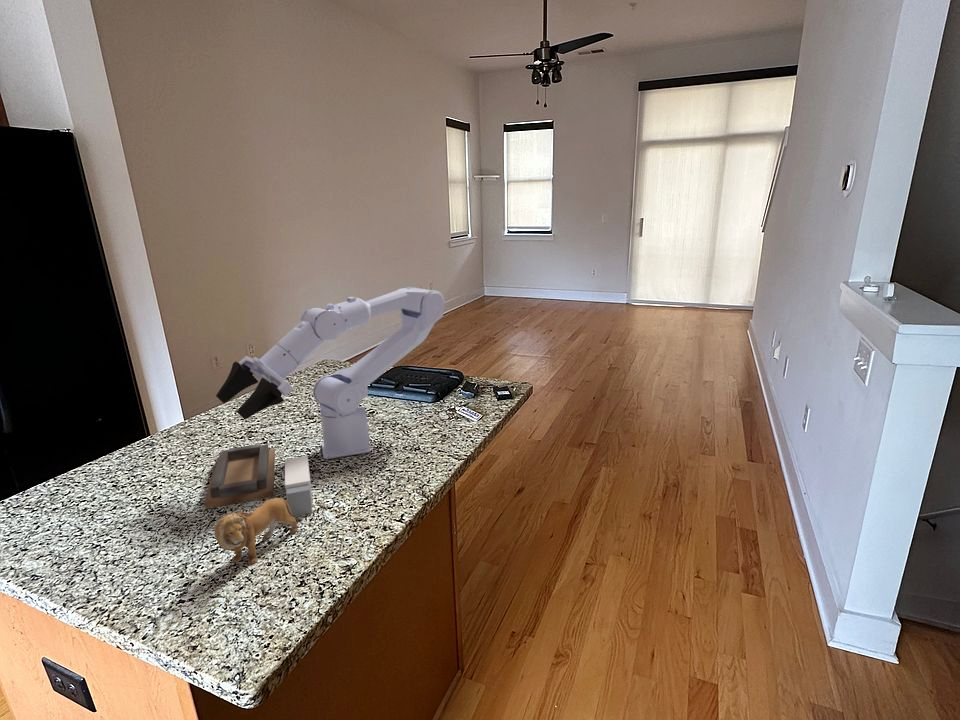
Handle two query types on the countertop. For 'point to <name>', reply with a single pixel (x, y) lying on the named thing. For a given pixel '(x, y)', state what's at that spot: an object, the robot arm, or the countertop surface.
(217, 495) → the cradle jig
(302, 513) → the white pillar grey cap
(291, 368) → the robot arm
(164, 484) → the countertop surface
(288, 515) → the lion figurine
